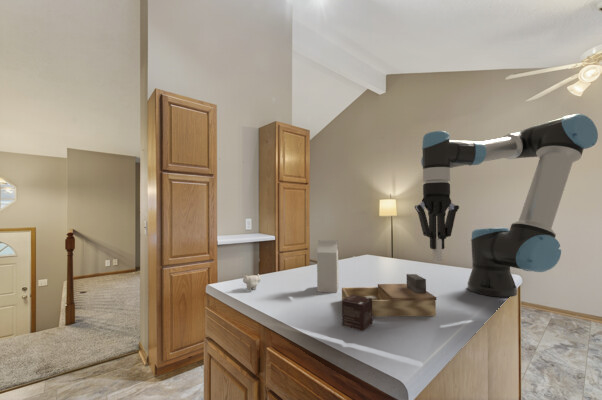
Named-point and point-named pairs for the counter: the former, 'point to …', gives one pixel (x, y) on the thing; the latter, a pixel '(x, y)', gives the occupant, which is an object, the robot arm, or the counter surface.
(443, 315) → the counter surface
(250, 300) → the counter surface
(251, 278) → the elephant figurine
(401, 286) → the lid
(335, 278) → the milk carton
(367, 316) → the box
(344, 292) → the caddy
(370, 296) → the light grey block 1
